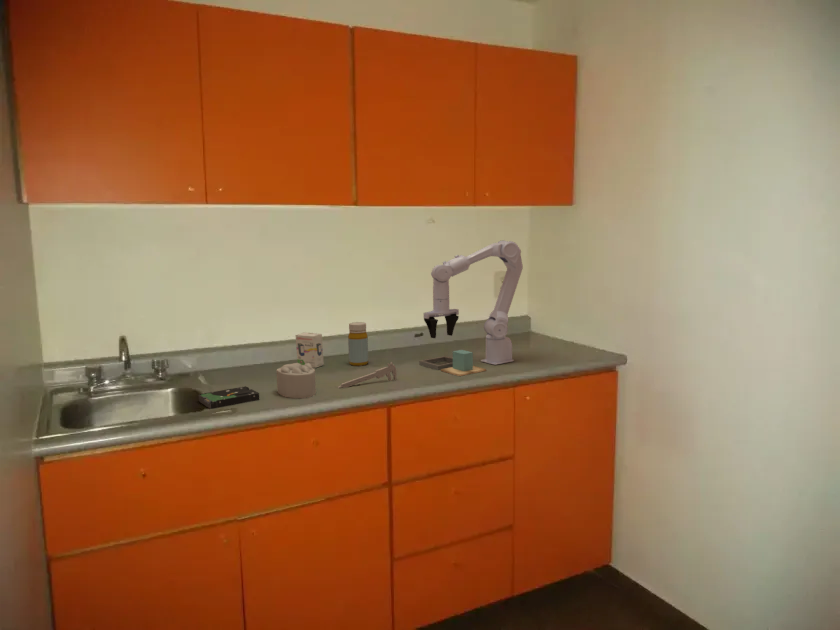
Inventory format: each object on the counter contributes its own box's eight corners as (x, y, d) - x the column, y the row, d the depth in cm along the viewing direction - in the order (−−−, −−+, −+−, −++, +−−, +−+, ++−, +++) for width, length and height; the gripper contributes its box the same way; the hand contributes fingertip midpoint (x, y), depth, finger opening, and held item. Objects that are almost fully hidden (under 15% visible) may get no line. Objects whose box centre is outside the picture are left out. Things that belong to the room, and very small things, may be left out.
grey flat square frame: (445, 360, 240) (445, 356, 240) (464, 365, 231) (464, 361, 231) (419, 364, 233) (419, 360, 233) (438, 370, 224) (438, 365, 224)
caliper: (395, 379, 213) (394, 361, 212) (396, 380, 212) (396, 361, 211) (337, 388, 203) (336, 369, 202) (338, 389, 202) (337, 369, 201)
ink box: (324, 365, 234) (323, 333, 233) (315, 368, 230) (314, 335, 228) (304, 363, 238) (303, 331, 236) (296, 366, 233) (294, 334, 232)
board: (467, 365, 230) (467, 364, 230) (486, 370, 222) (486, 369, 222) (440, 370, 223) (440, 369, 223) (459, 376, 215) (459, 374, 215)
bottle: (354, 367, 231) (353, 325, 229) (345, 363, 237) (344, 323, 234) (371, 364, 235) (370, 323, 232) (362, 361, 240) (361, 321, 238)
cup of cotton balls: (304, 386, 206) (303, 359, 204) (323, 394, 195) (322, 366, 194) (273, 391, 200) (272, 364, 198) (291, 400, 189) (290, 371, 188)
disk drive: (246, 394, 199) (198, 402, 190) (245, 385, 198) (197, 393, 189) (260, 401, 190) (210, 410, 182) (259, 392, 190) (210, 401, 181)
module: (461, 366, 226) (461, 349, 225) (472, 369, 221) (472, 352, 221) (452, 368, 224) (452, 351, 223) (463, 371, 219) (463, 354, 218)
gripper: (449, 296, 236) (450, 332, 238) (418, 299, 227) (418, 337, 229) (462, 297, 230) (462, 335, 232) (430, 301, 222) (430, 340, 224)
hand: (441, 336), depth 230 cm, fingers open, 7 cm apart
